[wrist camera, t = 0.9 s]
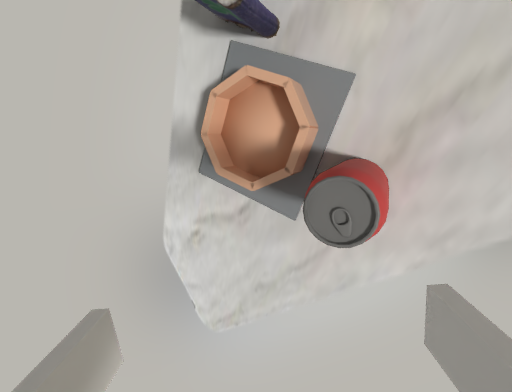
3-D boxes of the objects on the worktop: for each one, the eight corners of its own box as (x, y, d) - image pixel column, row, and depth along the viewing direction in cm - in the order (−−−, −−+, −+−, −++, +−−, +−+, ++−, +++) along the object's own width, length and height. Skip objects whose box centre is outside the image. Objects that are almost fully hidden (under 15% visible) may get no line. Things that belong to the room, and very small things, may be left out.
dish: (235, 64, 33) (218, 56, 30) (332, 94, 29) (324, 88, 26) (210, 160, 38) (193, 162, 34) (291, 198, 33) (280, 205, 30)
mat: (233, 41, 33) (231, 40, 33) (355, 74, 28) (355, 73, 28) (200, 171, 40) (198, 172, 39) (295, 219, 34) (294, 220, 34)
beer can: (337, 220, 32) (311, 260, 21) (320, 168, 32) (285, 183, 21) (396, 207, 29) (400, 246, 18) (378, 149, 28) (371, 156, 18)
